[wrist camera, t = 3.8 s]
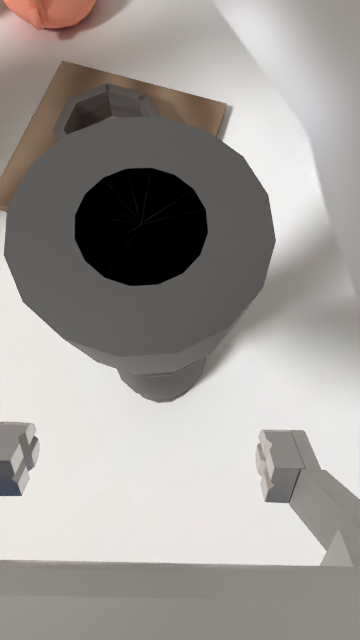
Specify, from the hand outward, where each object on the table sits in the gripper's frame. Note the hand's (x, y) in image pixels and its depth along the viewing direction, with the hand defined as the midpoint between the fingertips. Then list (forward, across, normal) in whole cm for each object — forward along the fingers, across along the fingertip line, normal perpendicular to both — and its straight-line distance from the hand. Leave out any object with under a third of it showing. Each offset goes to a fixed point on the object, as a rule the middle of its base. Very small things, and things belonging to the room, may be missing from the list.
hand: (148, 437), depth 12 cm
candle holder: (+16, 0, +10) cm, 19 cm away
